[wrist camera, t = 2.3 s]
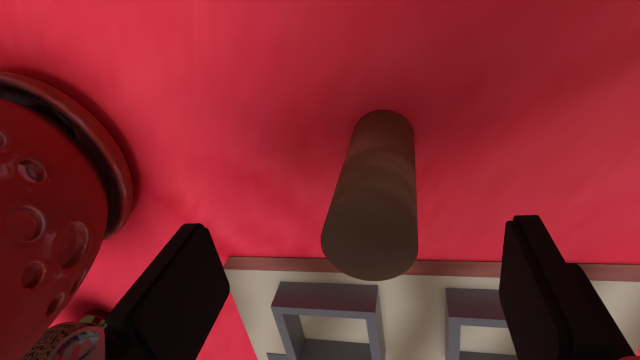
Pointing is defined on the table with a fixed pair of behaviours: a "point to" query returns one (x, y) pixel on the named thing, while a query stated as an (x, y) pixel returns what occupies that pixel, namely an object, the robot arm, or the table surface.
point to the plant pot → (51, 204)
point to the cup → (63, 334)
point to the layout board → (396, 309)
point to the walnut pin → (375, 202)
